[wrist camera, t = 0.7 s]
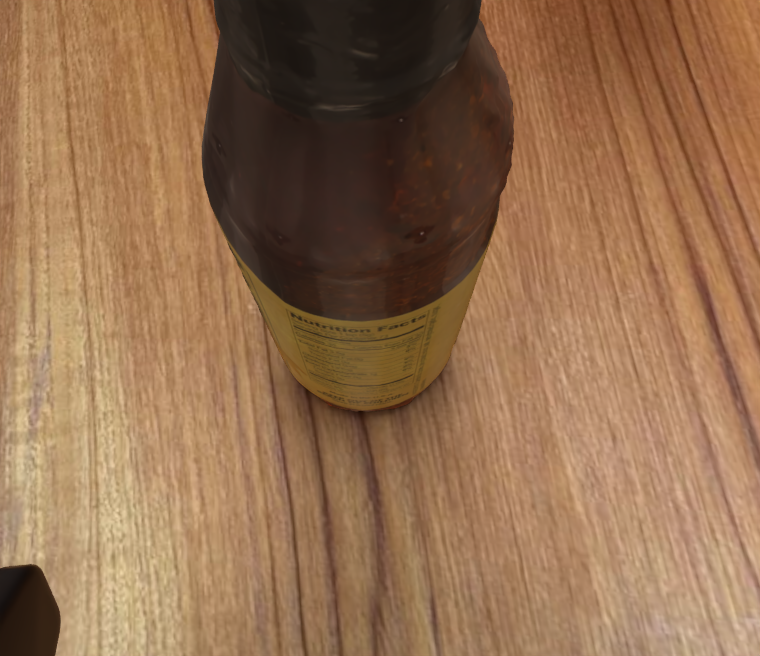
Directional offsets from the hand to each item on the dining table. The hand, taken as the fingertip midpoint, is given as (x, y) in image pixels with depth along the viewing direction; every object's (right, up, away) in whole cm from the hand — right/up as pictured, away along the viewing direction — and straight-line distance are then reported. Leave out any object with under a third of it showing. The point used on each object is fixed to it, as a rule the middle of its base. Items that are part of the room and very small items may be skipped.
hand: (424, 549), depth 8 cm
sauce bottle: (-1, +2, +17) cm, 17 cm away
